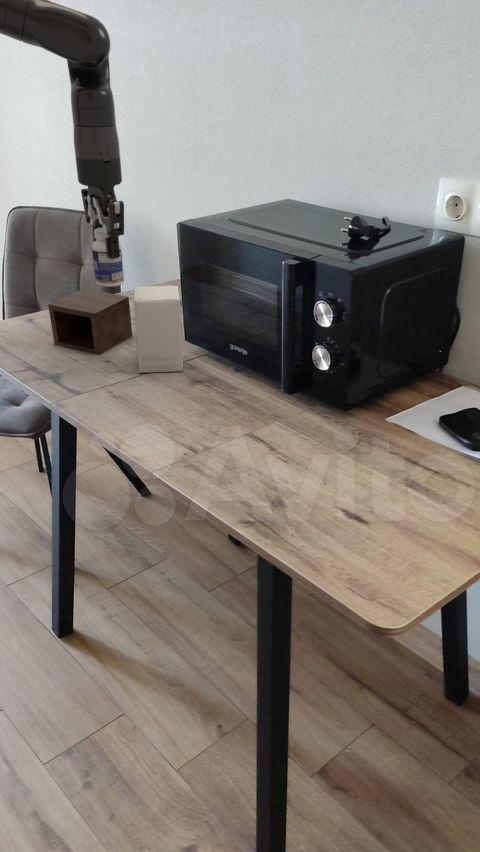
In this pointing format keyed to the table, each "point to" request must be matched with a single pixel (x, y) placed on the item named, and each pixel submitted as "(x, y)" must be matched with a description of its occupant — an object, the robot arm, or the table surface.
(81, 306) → the shelf
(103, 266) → the pill bottle
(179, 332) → the white product box
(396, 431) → the table surface
